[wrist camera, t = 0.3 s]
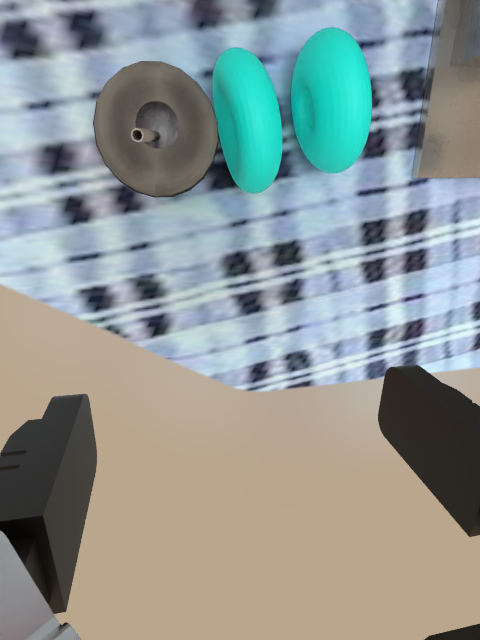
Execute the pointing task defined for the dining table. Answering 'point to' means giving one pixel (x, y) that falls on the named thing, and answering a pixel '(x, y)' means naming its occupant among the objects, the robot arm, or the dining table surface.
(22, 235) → the dining table surface
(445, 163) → the pillow blocks
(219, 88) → the donuts
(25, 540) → the robot arm
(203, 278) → the dining table surface
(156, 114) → the beverage cup
